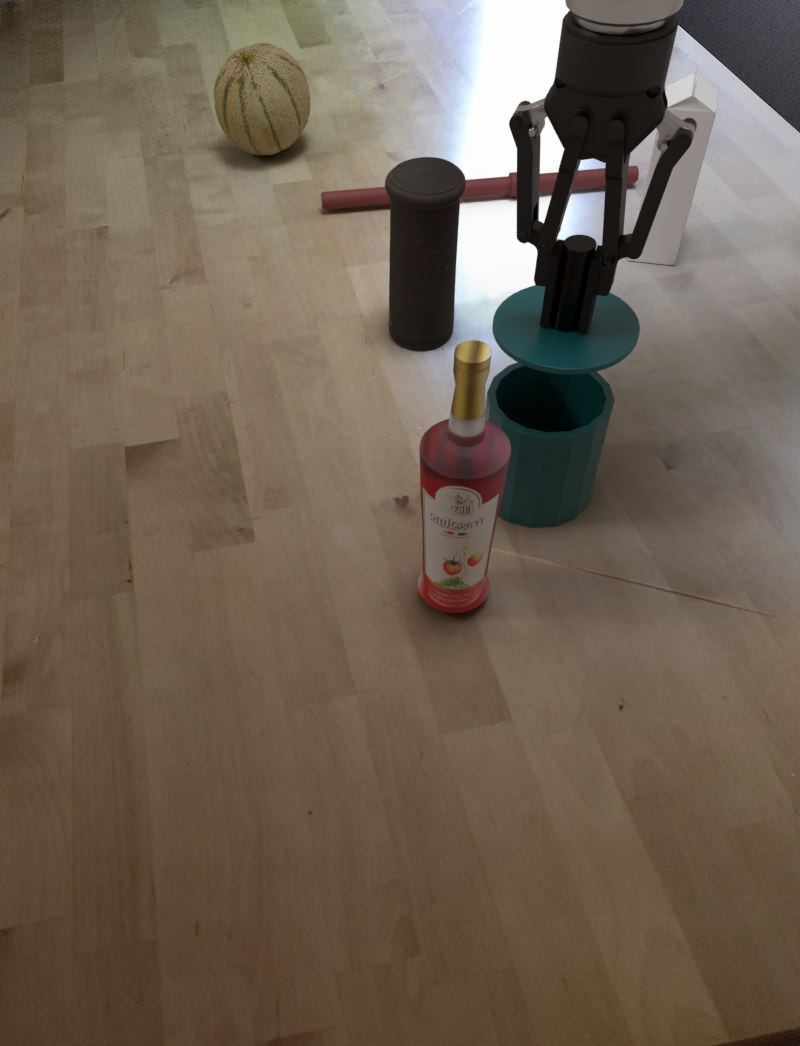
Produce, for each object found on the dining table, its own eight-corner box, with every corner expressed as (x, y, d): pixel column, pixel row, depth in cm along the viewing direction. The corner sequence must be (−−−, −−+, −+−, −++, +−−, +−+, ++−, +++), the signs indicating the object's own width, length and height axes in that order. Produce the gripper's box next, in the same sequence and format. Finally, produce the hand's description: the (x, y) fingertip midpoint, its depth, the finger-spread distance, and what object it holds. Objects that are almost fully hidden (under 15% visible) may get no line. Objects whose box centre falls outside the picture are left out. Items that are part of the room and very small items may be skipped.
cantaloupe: (321, 127, 145) (314, 22, 133) (304, 174, 137) (296, 66, 125) (233, 126, 148) (218, 23, 135) (211, 172, 139) (194, 66, 127)
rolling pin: (631, 179, 129) (636, 157, 127) (636, 190, 128) (641, 168, 125) (321, 205, 131) (320, 184, 129) (322, 217, 129) (321, 195, 127)
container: (445, 304, 115) (454, 144, 99) (464, 346, 110) (476, 184, 93) (379, 315, 114) (377, 156, 98) (395, 358, 109) (395, 197, 93)
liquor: (494, 569, 89) (529, 325, 66) (486, 627, 85) (519, 388, 62) (421, 560, 90) (430, 317, 67) (409, 617, 86) (414, 379, 63)
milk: (627, 261, 118) (666, 79, 100) (632, 236, 121) (671, 56, 103) (675, 266, 116) (724, 82, 98) (679, 240, 120) (727, 58, 102)
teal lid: (648, 306, 81) (673, 213, 74) (621, 393, 74) (645, 300, 67) (512, 284, 84) (523, 193, 77) (474, 364, 78) (482, 273, 71)
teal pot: (600, 465, 96) (624, 369, 86) (576, 542, 90) (599, 448, 80) (495, 443, 99) (506, 348, 89) (465, 516, 93) (473, 422, 83)
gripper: (490, 25, 59) (467, 330, 78) (738, 45, 55) (650, 363, 74) (519, -18, 63) (490, 282, 82) (753, -2, 59) (665, 311, 78)
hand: (566, 320), depth 78 cm, fingers closed on teal lid, 3 cm apart
